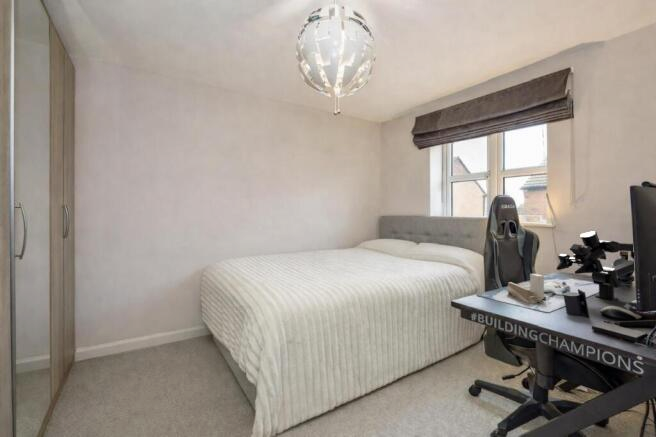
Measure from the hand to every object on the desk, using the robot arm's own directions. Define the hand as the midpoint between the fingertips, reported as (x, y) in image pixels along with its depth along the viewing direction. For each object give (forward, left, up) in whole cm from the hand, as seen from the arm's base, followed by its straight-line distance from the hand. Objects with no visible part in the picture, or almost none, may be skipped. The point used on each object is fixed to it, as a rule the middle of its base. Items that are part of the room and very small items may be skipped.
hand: (565, 270), depth 142 cm
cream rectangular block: (+8, -9, -14) cm, 18 cm away
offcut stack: (+12, -11, -15) cm, 22 cm away
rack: (+11, -10, -14) cm, 21 cm away
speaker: (+18, +12, -15) cm, 26 cm away
